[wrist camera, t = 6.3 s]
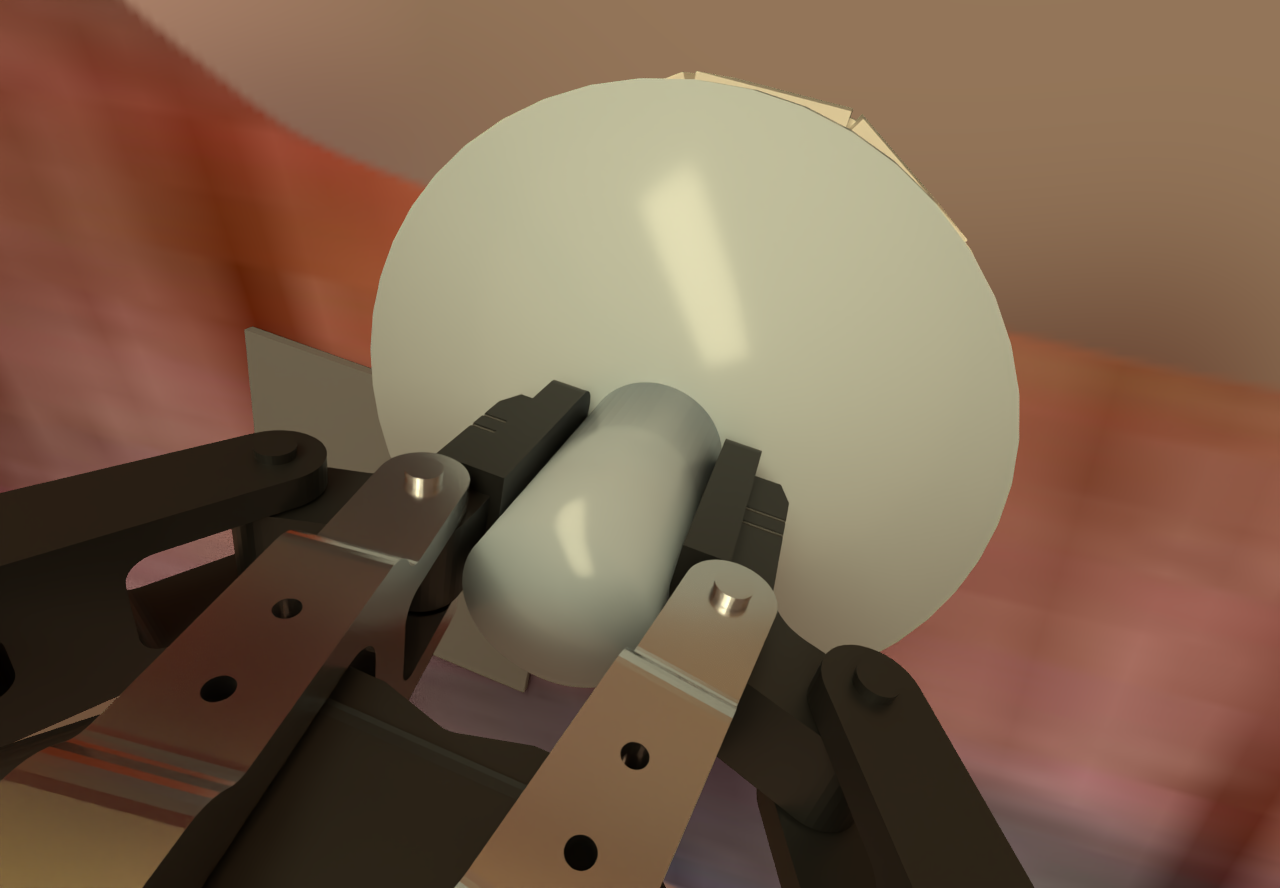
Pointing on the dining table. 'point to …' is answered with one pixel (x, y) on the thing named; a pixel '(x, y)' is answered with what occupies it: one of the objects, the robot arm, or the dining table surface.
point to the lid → (700, 361)
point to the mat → (350, 452)
